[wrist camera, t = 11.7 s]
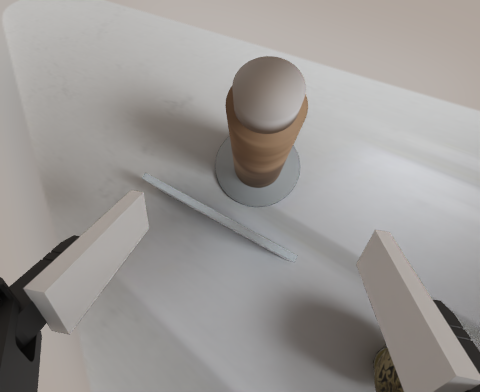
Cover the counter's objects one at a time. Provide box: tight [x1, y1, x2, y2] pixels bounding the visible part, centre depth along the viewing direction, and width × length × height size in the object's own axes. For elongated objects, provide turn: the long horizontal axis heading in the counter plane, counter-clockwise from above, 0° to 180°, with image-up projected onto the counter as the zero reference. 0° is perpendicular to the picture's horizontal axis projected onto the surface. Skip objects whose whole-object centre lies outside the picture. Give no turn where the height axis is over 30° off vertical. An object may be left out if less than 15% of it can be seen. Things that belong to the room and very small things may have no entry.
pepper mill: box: [226, 56, 308, 188], centre depth 18 cm, size 5×5×12 cm
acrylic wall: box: [142, 173, 298, 262], centre depth 21 cm, size 15×1×4 cm, turn 61°
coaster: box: [215, 136, 300, 207], centre depth 24 cm, size 9×9×1 cm
